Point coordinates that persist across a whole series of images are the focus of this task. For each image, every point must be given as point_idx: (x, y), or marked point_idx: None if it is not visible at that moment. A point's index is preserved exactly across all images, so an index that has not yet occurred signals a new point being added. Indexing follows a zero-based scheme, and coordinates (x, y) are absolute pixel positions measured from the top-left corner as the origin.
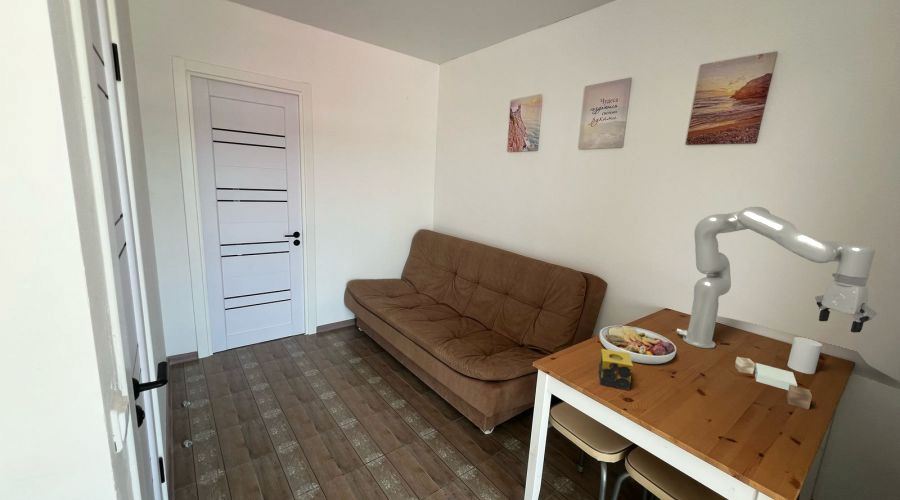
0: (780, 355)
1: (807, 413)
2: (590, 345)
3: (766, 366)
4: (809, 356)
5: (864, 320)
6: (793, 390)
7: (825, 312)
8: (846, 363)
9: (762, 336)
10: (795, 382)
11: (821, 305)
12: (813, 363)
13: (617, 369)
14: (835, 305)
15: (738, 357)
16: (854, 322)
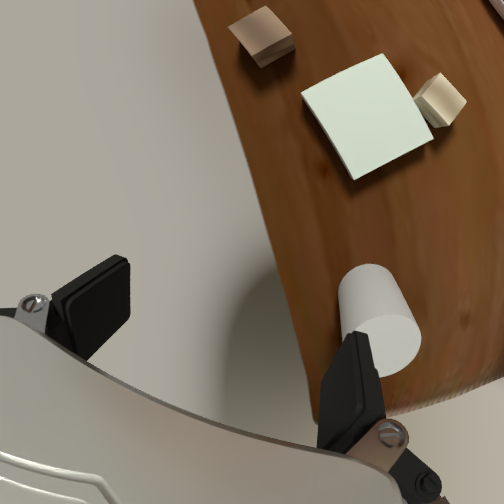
0: (419, 327)
1: (231, 24)
2: None
3: (408, 141)
4: (357, 298)
5: (7, 308)
6: (265, 11)
7: (341, 418)
8: (316, 409)
9: (458, 390)
10: (312, 104)
11: (395, 476)
12: (343, 298)
13: None
14: (142, 484)
15: (462, 101)
16: (61, 290)
